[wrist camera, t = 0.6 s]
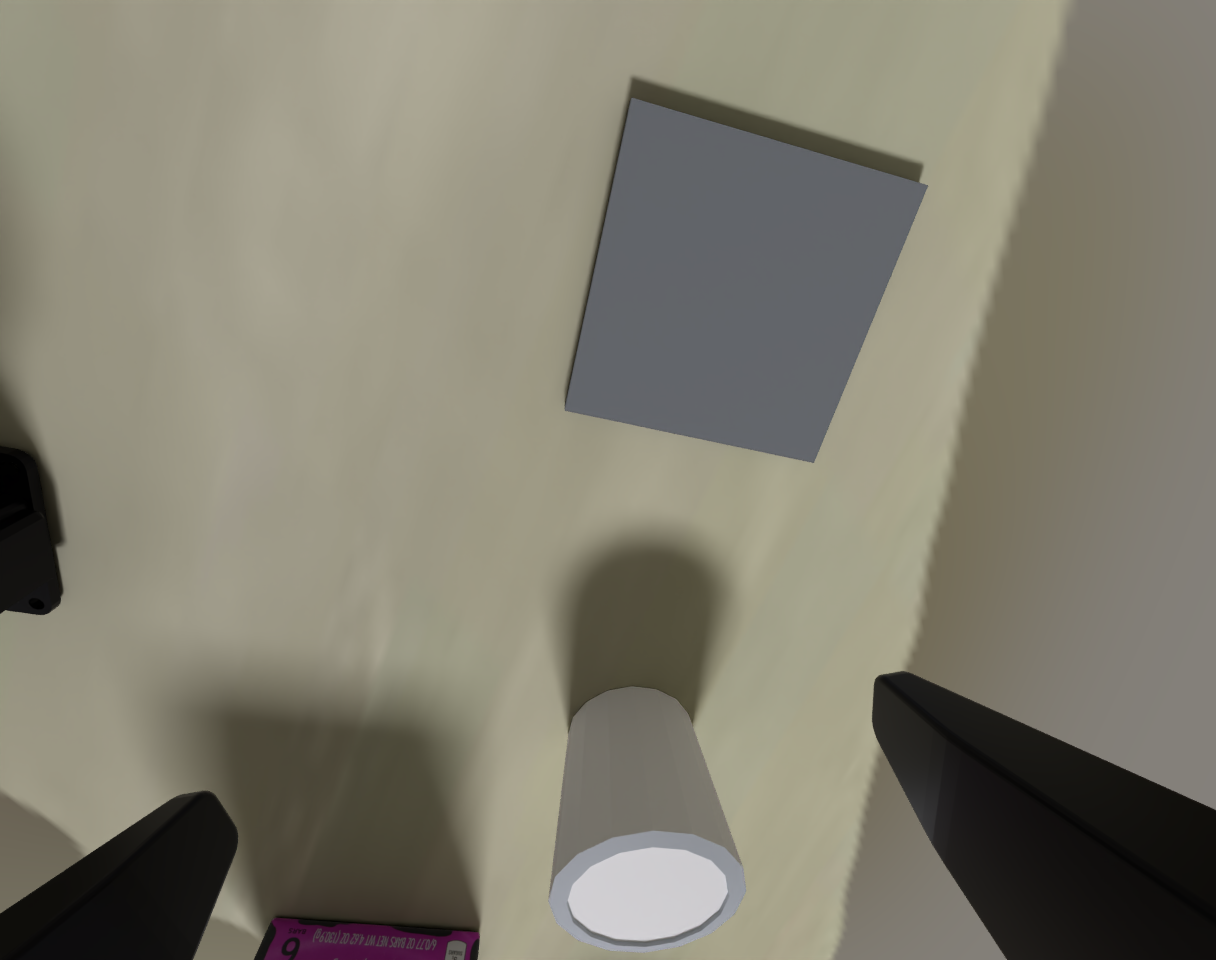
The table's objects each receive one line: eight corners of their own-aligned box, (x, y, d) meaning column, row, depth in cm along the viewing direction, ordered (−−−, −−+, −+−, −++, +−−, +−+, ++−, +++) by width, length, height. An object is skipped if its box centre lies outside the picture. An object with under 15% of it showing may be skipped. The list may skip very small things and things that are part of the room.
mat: (564, 406, 19) (564, 410, 19) (629, 100, 16) (631, 97, 15) (808, 457, 21) (813, 462, 20) (918, 186, 17) (928, 185, 17)
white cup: (677, 654, 24) (714, 809, 18) (723, 758, 27) (769, 925, 20) (529, 705, 25) (514, 872, 18) (589, 801, 28) (593, 975, 21)
